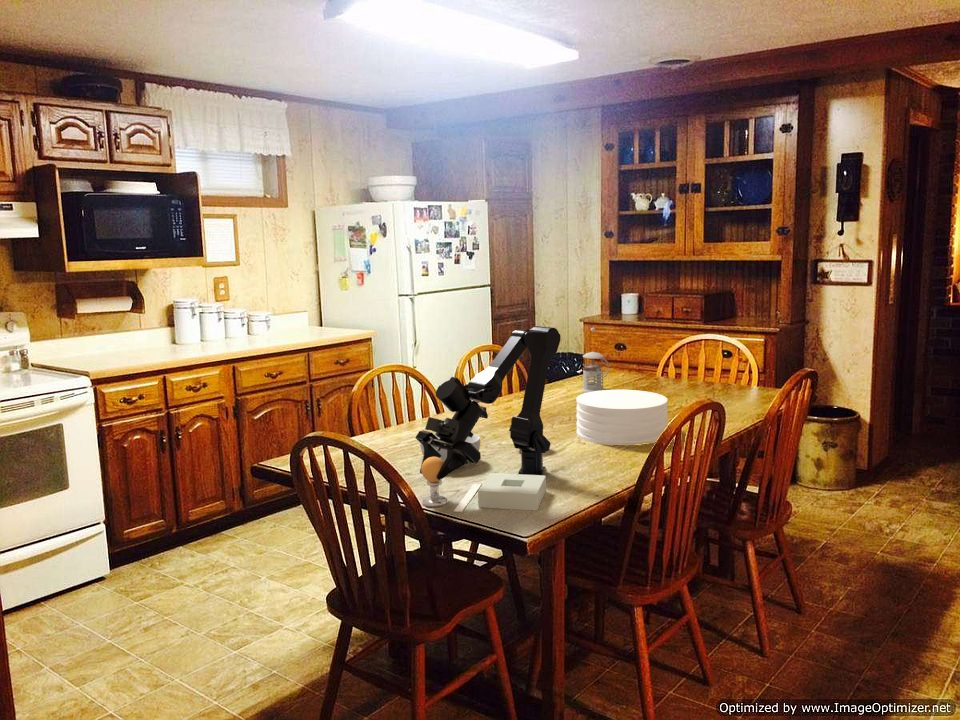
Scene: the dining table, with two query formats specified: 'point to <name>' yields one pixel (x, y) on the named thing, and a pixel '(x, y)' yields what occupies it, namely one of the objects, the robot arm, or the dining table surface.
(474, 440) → the cereal bowl
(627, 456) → the dining table surface
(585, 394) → the plate stack
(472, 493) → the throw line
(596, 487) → the dining table surface
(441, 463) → the ball
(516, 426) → the robot arm
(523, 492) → the block
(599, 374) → the french press
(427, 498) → the tee
